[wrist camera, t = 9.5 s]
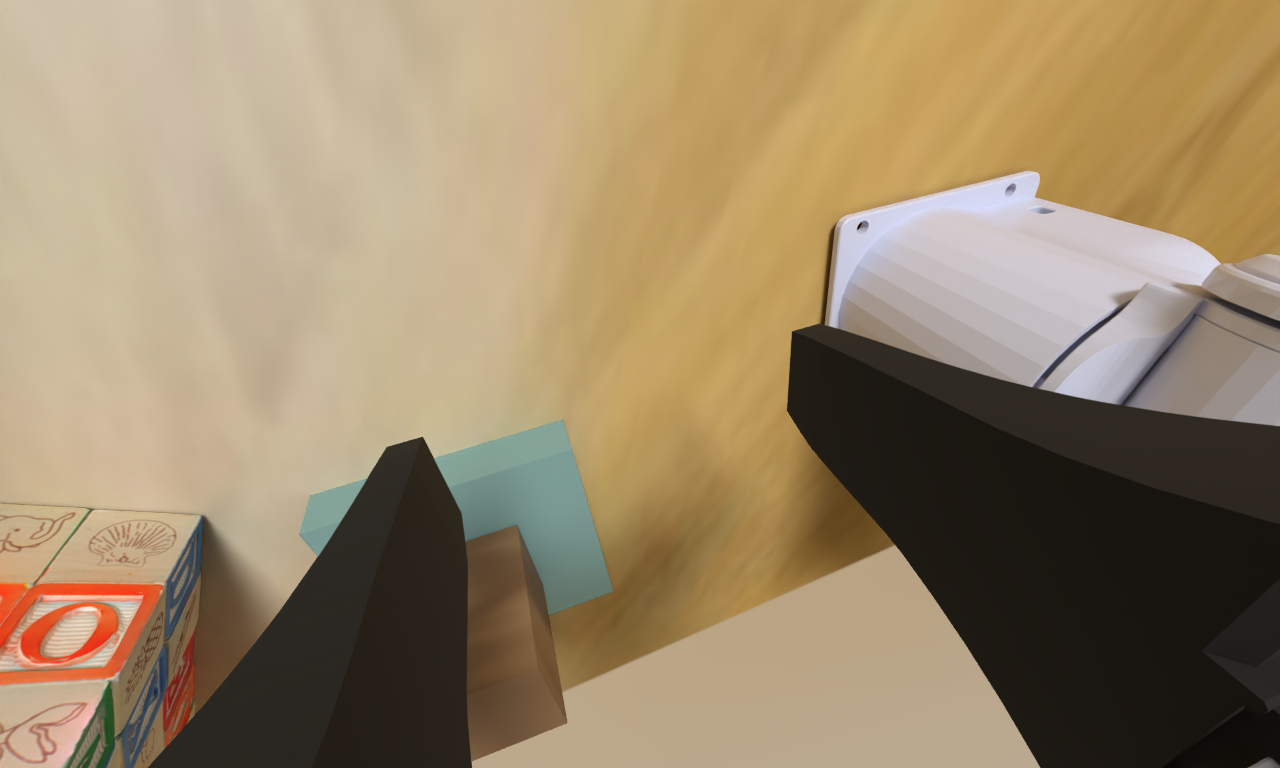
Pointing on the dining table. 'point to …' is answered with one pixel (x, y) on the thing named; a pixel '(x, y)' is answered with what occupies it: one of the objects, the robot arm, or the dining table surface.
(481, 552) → the walnut block
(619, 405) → the dining table surface
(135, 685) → the stack of blocks
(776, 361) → the dining table surface
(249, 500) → the dining table surface
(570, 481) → the teal base
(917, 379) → the robot arm
